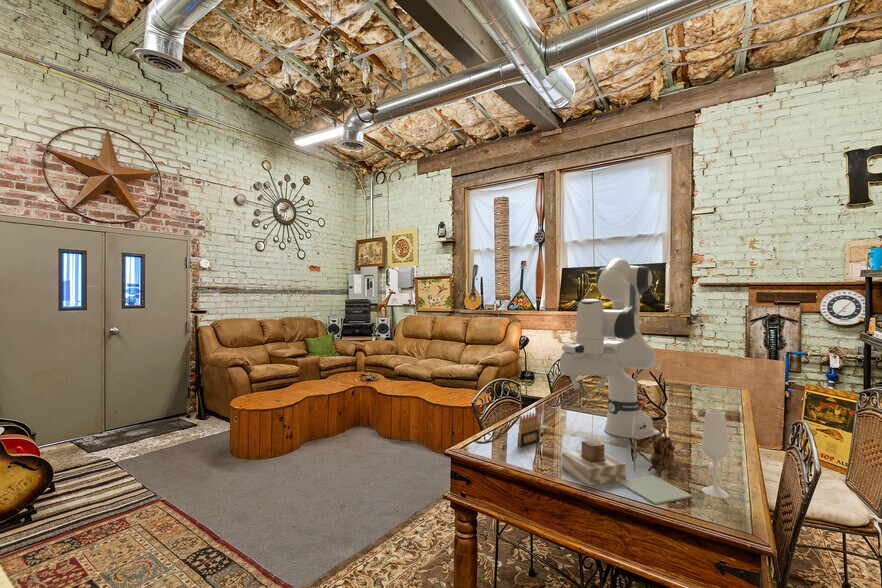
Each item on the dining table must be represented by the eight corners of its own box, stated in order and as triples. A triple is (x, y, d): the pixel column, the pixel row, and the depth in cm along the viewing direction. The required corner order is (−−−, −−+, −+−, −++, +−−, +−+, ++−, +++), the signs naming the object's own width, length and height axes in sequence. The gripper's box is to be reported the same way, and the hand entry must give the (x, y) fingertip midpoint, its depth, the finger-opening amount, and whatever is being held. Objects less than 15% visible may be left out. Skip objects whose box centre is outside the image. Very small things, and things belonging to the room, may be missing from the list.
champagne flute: (698, 486, 124) (698, 407, 124) (723, 489, 122) (724, 409, 122) (706, 496, 118) (706, 413, 118) (732, 499, 116) (733, 415, 116)
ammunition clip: (521, 447, 155) (521, 416, 155) (517, 446, 157) (517, 415, 157) (539, 441, 161) (539, 411, 162) (535, 440, 163) (536, 410, 163)
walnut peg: (593, 469, 136) (594, 439, 136) (604, 475, 131) (604, 444, 131) (581, 471, 134) (581, 441, 134) (591, 477, 129) (591, 446, 129)
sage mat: (653, 476, 130) (653, 475, 130) (692, 497, 117) (692, 495, 117) (618, 482, 126) (618, 481, 126) (654, 504, 113) (655, 502, 113)
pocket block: (595, 462, 141) (595, 448, 141) (625, 479, 128) (626, 463, 128) (561, 467, 137) (561, 452, 137) (589, 485, 124) (589, 469, 124)
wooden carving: (664, 476, 131) (664, 445, 131) (649, 472, 134) (649, 442, 134) (677, 461, 143) (677, 433, 143) (662, 458, 146) (663, 430, 146)
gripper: (610, 346, 141) (610, 386, 141) (557, 346, 136) (557, 387, 136) (622, 348, 135) (622, 389, 135) (567, 348, 130) (567, 391, 130)
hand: (588, 388), depth 135 cm, fingers open, 8 cm apart
